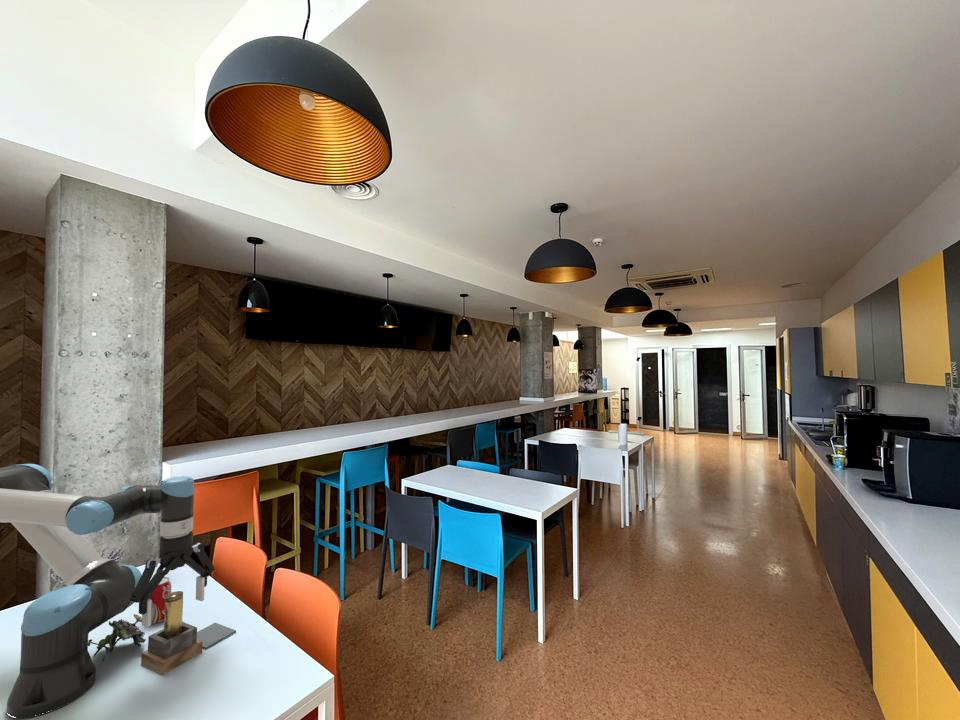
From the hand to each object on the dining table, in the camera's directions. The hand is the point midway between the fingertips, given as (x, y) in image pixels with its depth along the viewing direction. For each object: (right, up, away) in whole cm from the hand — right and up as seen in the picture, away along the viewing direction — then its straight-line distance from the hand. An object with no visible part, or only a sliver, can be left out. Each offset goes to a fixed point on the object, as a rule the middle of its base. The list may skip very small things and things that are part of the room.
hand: (174, 611), depth 114 cm
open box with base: (0, -12, -1) cm, 12 cm away
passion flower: (-17, -13, +1) cm, 21 cm away
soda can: (-19, -14, +18) cm, 30 cm away
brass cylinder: (0, -9, -1) cm, 9 cm away
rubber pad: (+4, -13, +9) cm, 16 cm away
